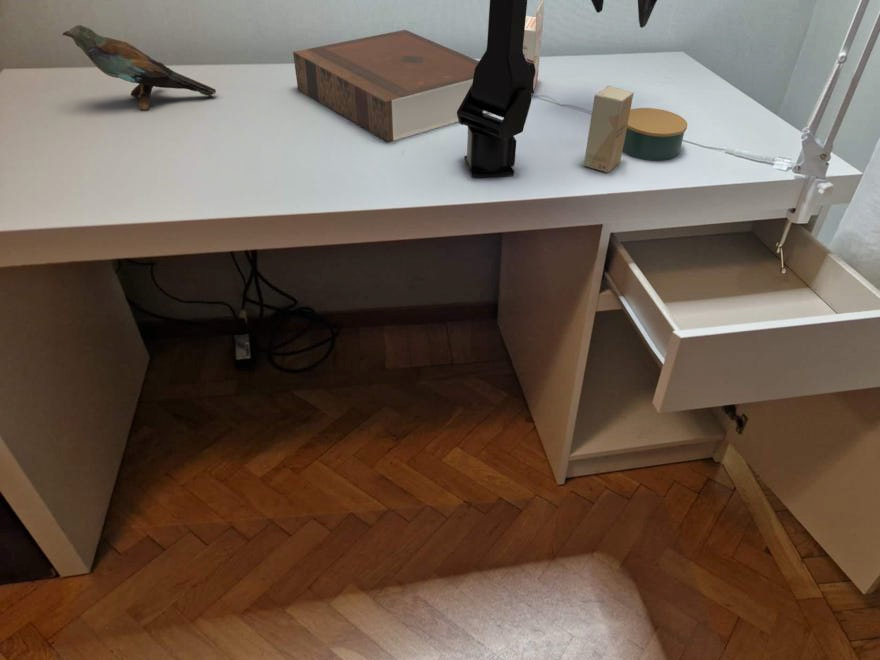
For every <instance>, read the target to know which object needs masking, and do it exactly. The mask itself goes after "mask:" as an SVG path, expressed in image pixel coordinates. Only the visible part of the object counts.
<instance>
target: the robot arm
mask: <svg viewBox="0 0 880 660" xmlns="http://www.w3.org/2000/svg"><path fill="white" fill-rule="evenodd" d="M590 2H591V3H592V5H593V8H594V10H595V12H596V13H597V14H599V13H601V12H602V11H603V8H604V2H605V1H604V0H590ZM657 2H658V0H637V12H638V15H637V16H638V23H639V27H640V29H642V28H644V27H646V26H647V24H648V21H649V20H650V17H651V15H652V12H653V10H654V8H655V6H656V4H657ZM527 8H528V0H489V7H488V21H487V22H488V24H487V40H486V41H487V42H486V50H485V51H484V53H483V54H482V56H481V57H480V59H479V60H478V61H479V62H478V64H477V65H476V67H475V70H474V77H473V83H472V85H471V87H470V89H469V91H468V93H467V94H466V96H465V98H464V100H463V102H462V103H461V105H460V107H459V109H458V111H457V117H458V124H459V125H461V126H466V127H467V138H466V139H467V140H466V141H467V142H466V155H464V156H463V161H464V163H465V165H466V167H467V170H468V172H469V174H470V176H471V177H472V178H487V177H490V178H491V177H503V176H504V177H506V176H513V175H514V174H515V169H514V168H513V167H514V166H515V164H516V152H517V139H516V137H515V136H518V135H520V134H521V133H523V132H524V128H525V126H526V120H527V118H528V114H529V111H530V108H531V104H532V96H531V93H532V95H534V93H535V88H533V82H534V76H535V71H536V70H535V65H534V63H530V62H527V61H526V59H525V56H524V54H523V42H524V31H525V20H526V16H527ZM483 110H484V111H487V112H489V114H488V113H483ZM490 114H492V115H490ZM493 115H495V116H493ZM496 116H497V117H496ZM499 117H500V118H499ZM501 118H503V119H501Z"/></svg>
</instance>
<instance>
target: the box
mask: <svg viewBox="0 0 880 660" xmlns="http://www.w3.org/2000/svg"><path fill="white" fill-rule="evenodd" d="M634 94H635V92H633V91H631V90H629V89H624V88H621V87H620V88H619V87H617V86H613V85H607V86H605V87H604V88H602V89H601V90H599V91H598V92H596V93H595V94H594V98H593V104H592V109H591V115H590V121H589V122H590V123H589V129H588V135H587V142H586V147H585V148H586V149H585V154H584V160H583V167H587V168H591V169H594V170H597V171H601V172H604V173H610V172H611V171H612V170H613V169H614V168H615V167H617V166H618V165H619V164H620V163H621V161H622V160H621V159H622V156H623V151H622V150H623V145H624V140H625V135H626V130H627V125H628V120H629V114H630V110H631V108H632V104H633V98H634Z"/></svg>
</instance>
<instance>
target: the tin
mask: <svg viewBox="0 0 880 660" xmlns="http://www.w3.org/2000/svg"><path fill="white" fill-rule="evenodd" d="M687 129H688V122H687V120H686V119H685V118H683V117H682V116H681V115H679V114H677V113H674V112H672V111H669V110H665V109H661V108H654V107H637V108H632V109H630V114H629V120H628V125H627V130H626V135H625V140H624V145H623V150H622V152H623V153H625V154H627V155H628V156H631V157H634V158H637V159H641V160H647V161H667V160H671V159H675V158H676V157H677V156H678V155H679V154H680V152H681V149H682V144H683V139H684V135H685V132H686V131H687Z"/></svg>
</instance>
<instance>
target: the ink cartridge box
mask: <svg viewBox="0 0 880 660" xmlns="http://www.w3.org/2000/svg"><path fill="white" fill-rule="evenodd" d="M544 6H545V1H544V0H542V1H541V3H540V4H539V6H538V7H537V9H536V11H535V16H529V15H526V20H525V31H524V42H523V54H524V56H525V59H526V61H527V62H530V63H534V65H535V70H536V71H535V76H534V82H533V88H534V89H535V88H536V86H537V83H538V77H539V68H540V59H541V58H540V57H541V48H542V37H543V28H544V18H545V17H544V16H545V15H544V12H545V11H544V8H545V7H544ZM532 96H533V94H532V93H531V97H532Z"/></svg>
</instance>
